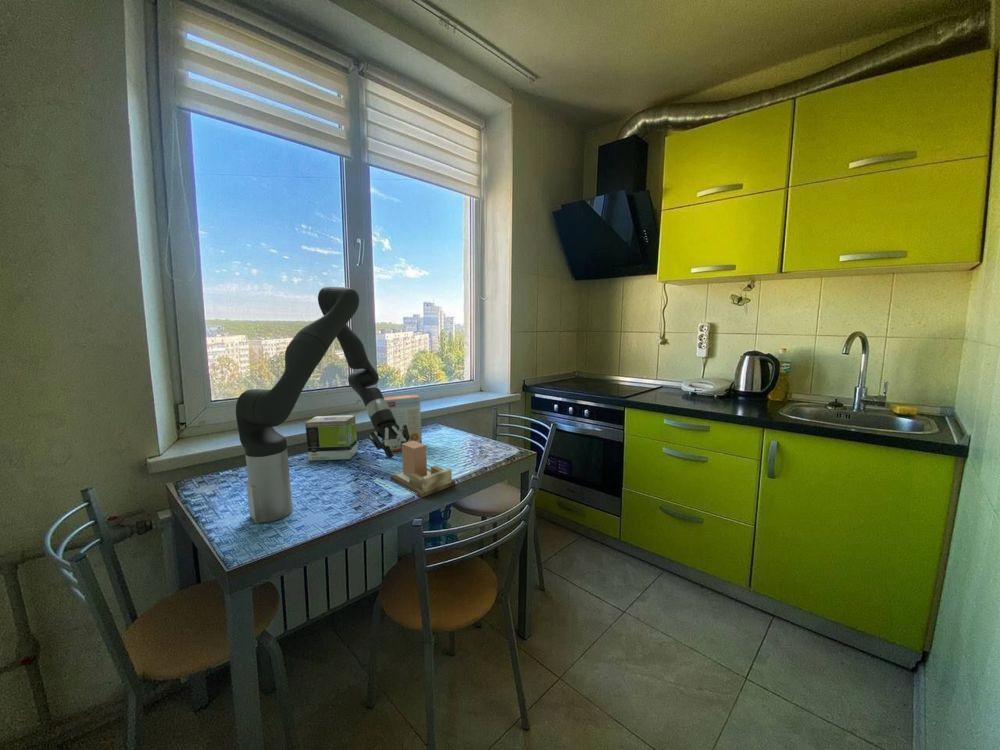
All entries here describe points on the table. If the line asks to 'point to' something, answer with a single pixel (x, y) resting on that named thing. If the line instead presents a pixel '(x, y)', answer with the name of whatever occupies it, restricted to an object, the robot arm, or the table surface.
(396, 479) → the board
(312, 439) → the tea box
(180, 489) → the table surface
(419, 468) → the tall tan block
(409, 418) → the cracker box
